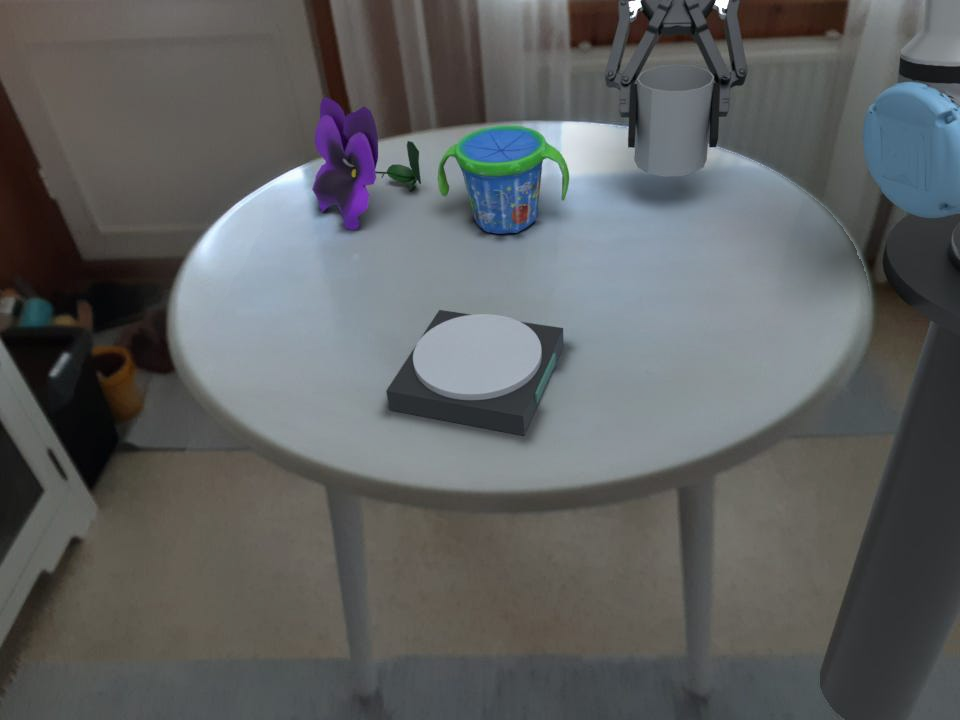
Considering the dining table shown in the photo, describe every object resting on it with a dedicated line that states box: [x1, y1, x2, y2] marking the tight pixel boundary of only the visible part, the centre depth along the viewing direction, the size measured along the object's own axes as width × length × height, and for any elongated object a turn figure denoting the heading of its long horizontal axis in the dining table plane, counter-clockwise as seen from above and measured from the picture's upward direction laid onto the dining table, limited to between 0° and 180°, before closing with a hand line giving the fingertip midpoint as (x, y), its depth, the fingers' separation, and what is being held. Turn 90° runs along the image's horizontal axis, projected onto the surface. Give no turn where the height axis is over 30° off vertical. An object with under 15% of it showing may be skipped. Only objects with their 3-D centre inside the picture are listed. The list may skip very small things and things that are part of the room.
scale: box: [385, 309, 565, 436], centre depth 79 cm, size 13×13×3 cm
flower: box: [311, 96, 422, 231], centre depth 107 cm, size 15×15×14 cm
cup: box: [633, 64, 715, 177], centre depth 98 cm, size 8×8×10 cm
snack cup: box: [437, 125, 570, 235], centre depth 100 cm, size 16×10×10 cm
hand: (672, 143), depth 96 cm, fingers closed on cup, 8 cm apart
